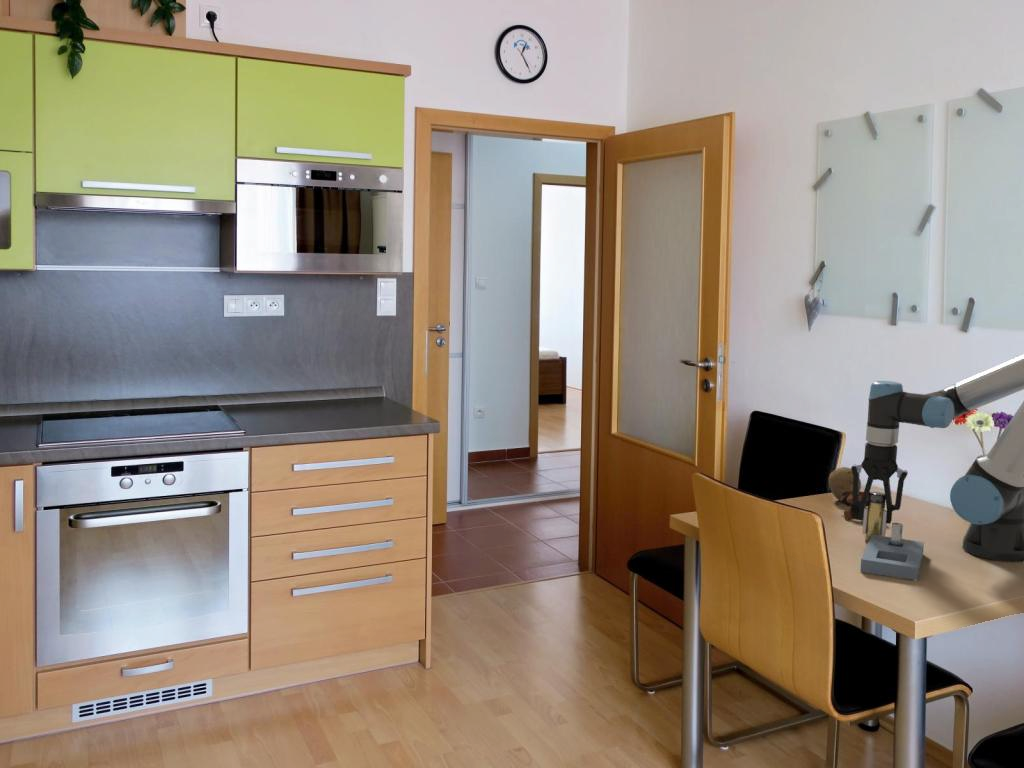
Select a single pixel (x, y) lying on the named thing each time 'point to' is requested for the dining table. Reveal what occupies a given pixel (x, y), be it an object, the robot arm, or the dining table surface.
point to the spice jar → (875, 514)
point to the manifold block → (892, 557)
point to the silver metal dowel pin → (896, 534)
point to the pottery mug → (851, 505)
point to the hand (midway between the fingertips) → (873, 533)
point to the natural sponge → (841, 481)
